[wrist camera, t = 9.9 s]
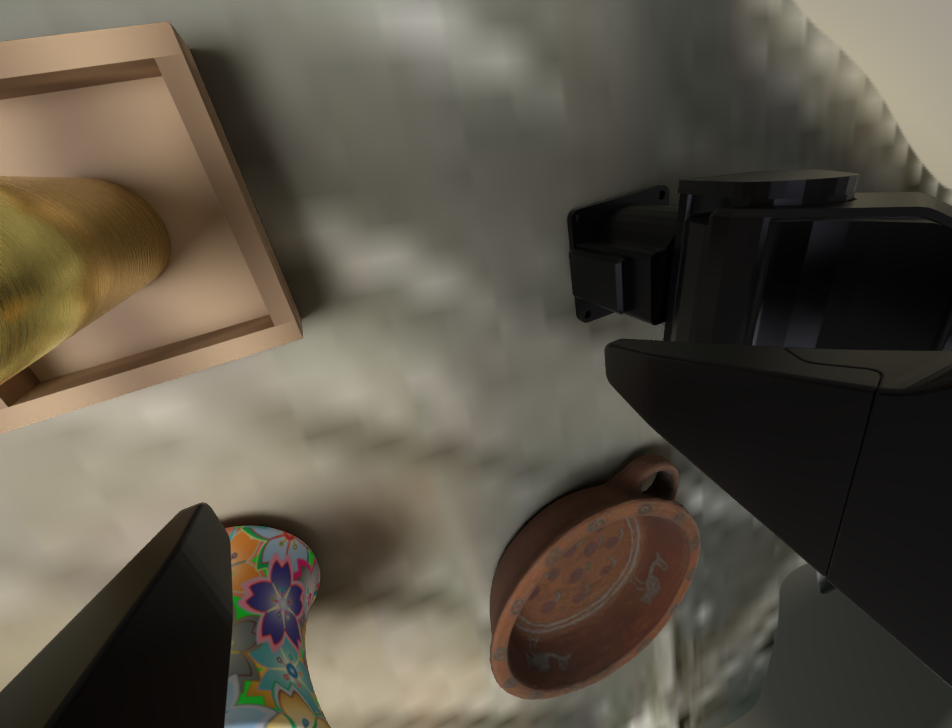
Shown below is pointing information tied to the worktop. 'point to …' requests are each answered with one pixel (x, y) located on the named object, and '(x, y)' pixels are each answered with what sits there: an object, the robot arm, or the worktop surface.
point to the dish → (591, 582)
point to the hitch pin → (69, 259)
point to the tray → (165, 188)
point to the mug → (271, 631)
